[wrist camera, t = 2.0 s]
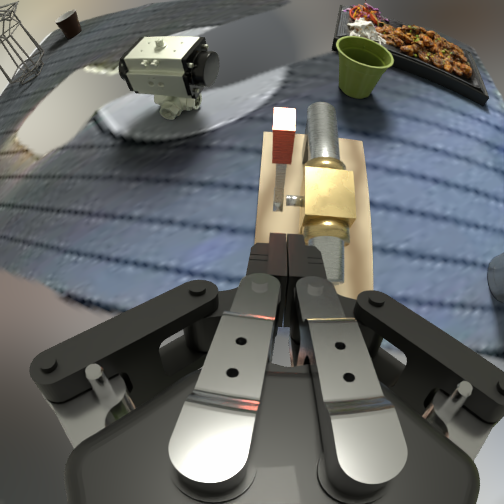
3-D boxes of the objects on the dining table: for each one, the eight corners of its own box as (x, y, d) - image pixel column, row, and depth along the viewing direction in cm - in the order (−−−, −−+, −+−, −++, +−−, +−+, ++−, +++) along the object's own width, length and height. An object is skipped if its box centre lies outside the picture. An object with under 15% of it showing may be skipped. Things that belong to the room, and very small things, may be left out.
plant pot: (386, 109, 54) (402, 71, 44) (334, 105, 55) (344, 64, 44) (371, 74, 58) (382, 39, 47) (323, 71, 58) (330, 32, 47)
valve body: (331, 145, 50) (344, 100, 38) (334, 294, 42) (358, 277, 31) (286, 141, 50) (290, 94, 39) (278, 291, 42) (284, 272, 31)
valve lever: (285, 195, 39) (295, 107, 23) (284, 216, 38) (295, 132, 23) (271, 194, 39) (274, 105, 24) (270, 215, 38) (272, 131, 23)
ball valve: (134, 117, 56) (103, 57, 39) (152, 91, 58) (129, 31, 41) (210, 129, 54) (193, 56, 37) (226, 99, 56) (215, 30, 39)
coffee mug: (81, 34, 73) (72, 15, 64) (62, 43, 73) (52, 25, 64) (87, 21, 77) (80, 4, 67) (69, 29, 77) (61, 13, 67)
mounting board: (360, 146, 51) (362, 141, 50) (369, 311, 42) (372, 310, 41) (263, 137, 52) (263, 131, 51) (249, 305, 44) (249, 303, 42)
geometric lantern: (43, 78, 66) (-6, 8, 33) (11, 97, 67) (-39, 37, 33) (54, 53, 71) (15, -12, 37) (23, 71, 71) (-18, 14, 38)
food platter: (331, 50, 62) (336, 19, 52) (338, 15, 69) (342, -11, 59) (482, 107, 56) (498, 84, 47) (466, 61, 63) (477, 40, 53)
